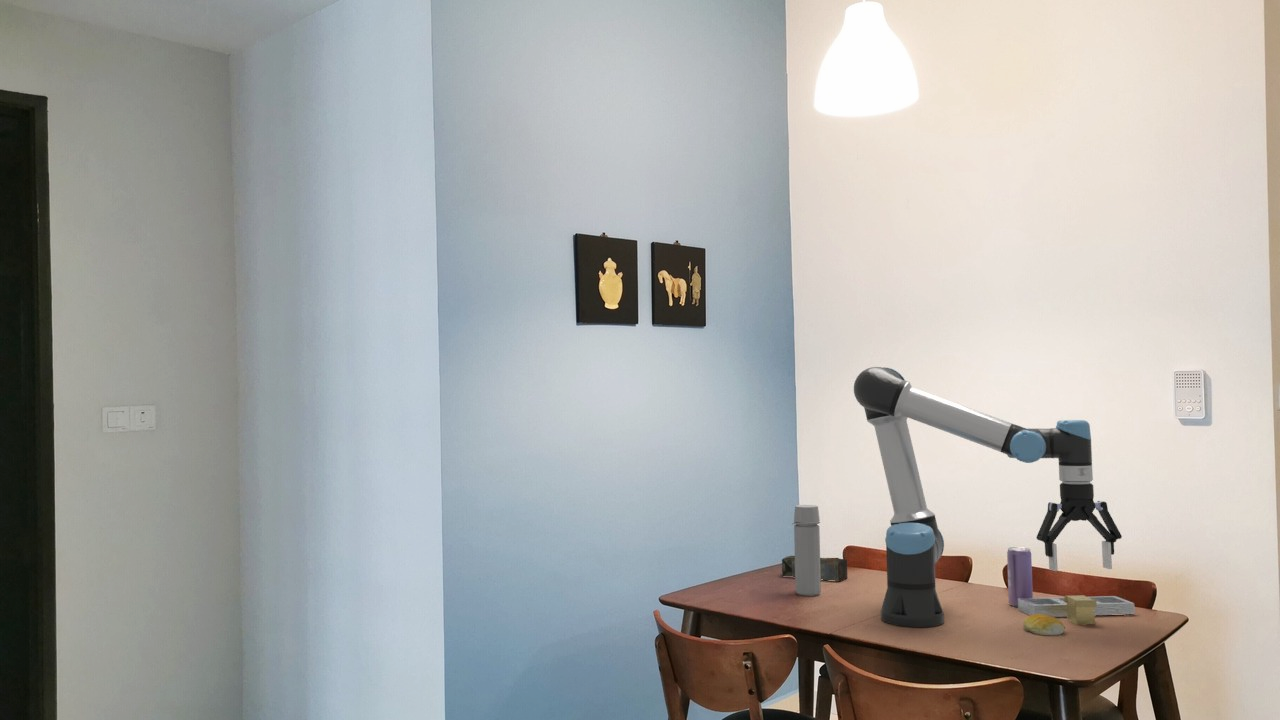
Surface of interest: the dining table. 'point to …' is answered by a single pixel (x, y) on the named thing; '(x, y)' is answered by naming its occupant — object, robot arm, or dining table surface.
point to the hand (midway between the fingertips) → (1080, 569)
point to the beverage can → (1019, 574)
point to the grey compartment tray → (1059, 607)
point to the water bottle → (807, 550)
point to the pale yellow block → (1080, 609)
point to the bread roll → (1043, 625)
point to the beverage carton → (828, 568)
